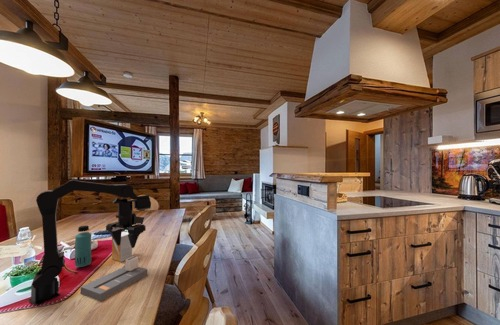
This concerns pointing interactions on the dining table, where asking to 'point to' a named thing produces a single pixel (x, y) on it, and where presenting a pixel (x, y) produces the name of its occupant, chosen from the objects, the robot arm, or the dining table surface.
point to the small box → (122, 248)
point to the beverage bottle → (83, 247)
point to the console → (112, 282)
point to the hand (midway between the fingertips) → (125, 246)
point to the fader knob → (131, 263)
